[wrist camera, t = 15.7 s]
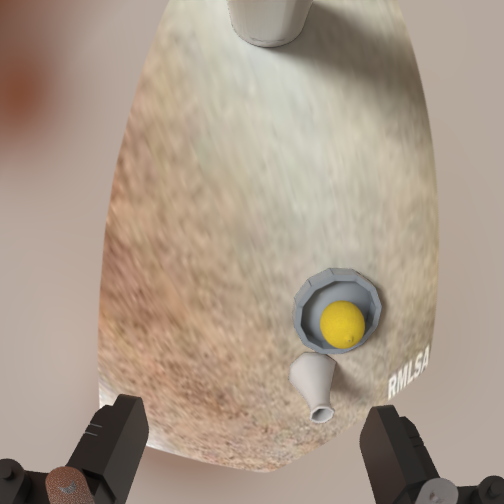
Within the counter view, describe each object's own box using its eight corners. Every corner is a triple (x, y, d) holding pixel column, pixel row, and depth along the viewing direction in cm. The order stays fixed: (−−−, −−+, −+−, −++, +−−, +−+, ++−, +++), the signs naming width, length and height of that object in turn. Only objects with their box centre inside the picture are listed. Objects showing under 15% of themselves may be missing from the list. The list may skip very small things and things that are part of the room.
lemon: (309, 321, 41) (318, 354, 34) (325, 285, 40) (338, 313, 32) (345, 331, 42) (359, 364, 34) (361, 297, 40) (380, 325, 32)
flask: (321, 391, 45) (331, 436, 36) (280, 380, 45) (283, 427, 35) (343, 357, 43) (360, 401, 34) (300, 344, 43) (310, 389, 33)
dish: (297, 266, 39) (299, 273, 37) (381, 269, 39) (387, 276, 37) (289, 343, 43) (290, 353, 40) (365, 343, 43) (370, 352, 40)
